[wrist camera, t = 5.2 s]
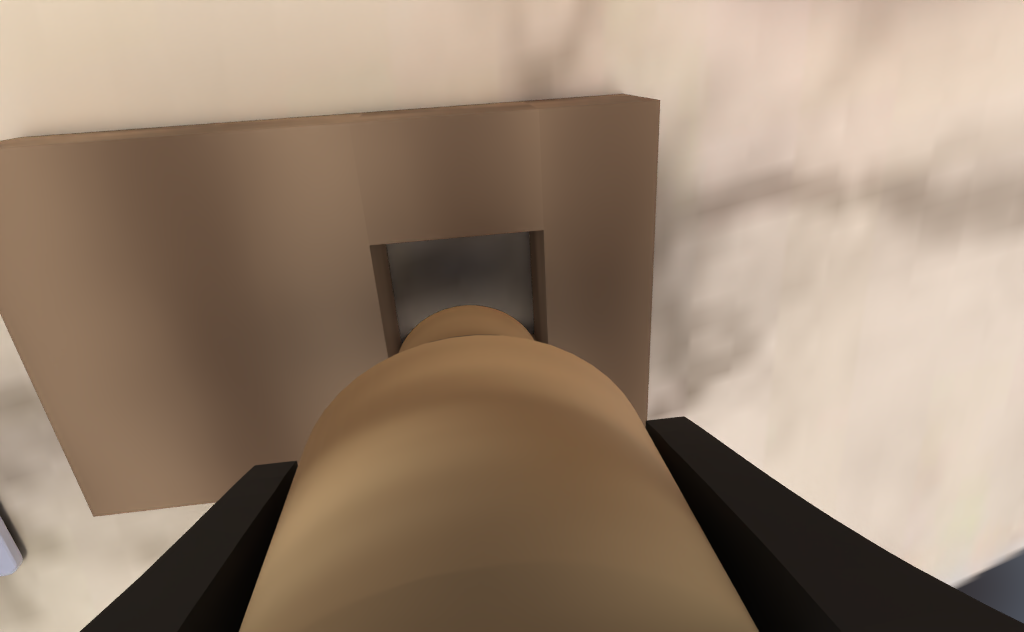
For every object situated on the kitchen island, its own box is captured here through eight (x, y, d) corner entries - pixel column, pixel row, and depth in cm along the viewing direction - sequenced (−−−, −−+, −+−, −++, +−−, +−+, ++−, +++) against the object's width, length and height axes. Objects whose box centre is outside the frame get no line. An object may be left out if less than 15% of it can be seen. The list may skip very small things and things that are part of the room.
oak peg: (372, 492, 13) (293, 974, 6) (309, 274, 11) (80, 640, 4) (600, 452, 13) (771, 870, 6) (582, 232, 11) (812, 505, 4)
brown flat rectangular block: (143, 451, 19) (93, 516, 16) (20, 137, 15) (-74, 154, 12) (618, 398, 20) (645, 451, 18) (623, 93, 16) (660, 100, 13)
